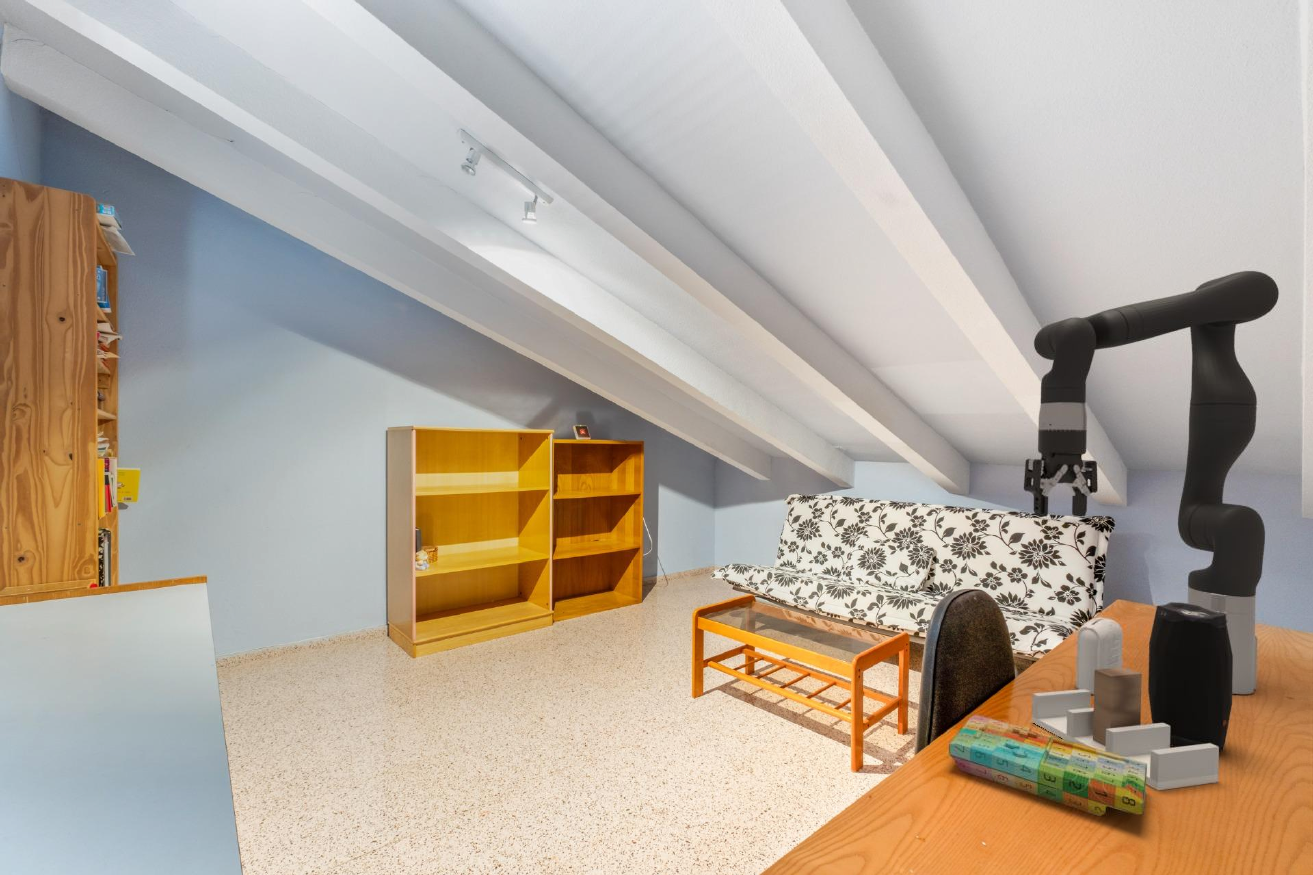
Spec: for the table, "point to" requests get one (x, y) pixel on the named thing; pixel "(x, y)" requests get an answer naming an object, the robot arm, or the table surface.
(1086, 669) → the photo printer
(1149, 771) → the slotted rack
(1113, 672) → the walnut block
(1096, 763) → the puzzle game
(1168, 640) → the portable speaker
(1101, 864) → the table surface
